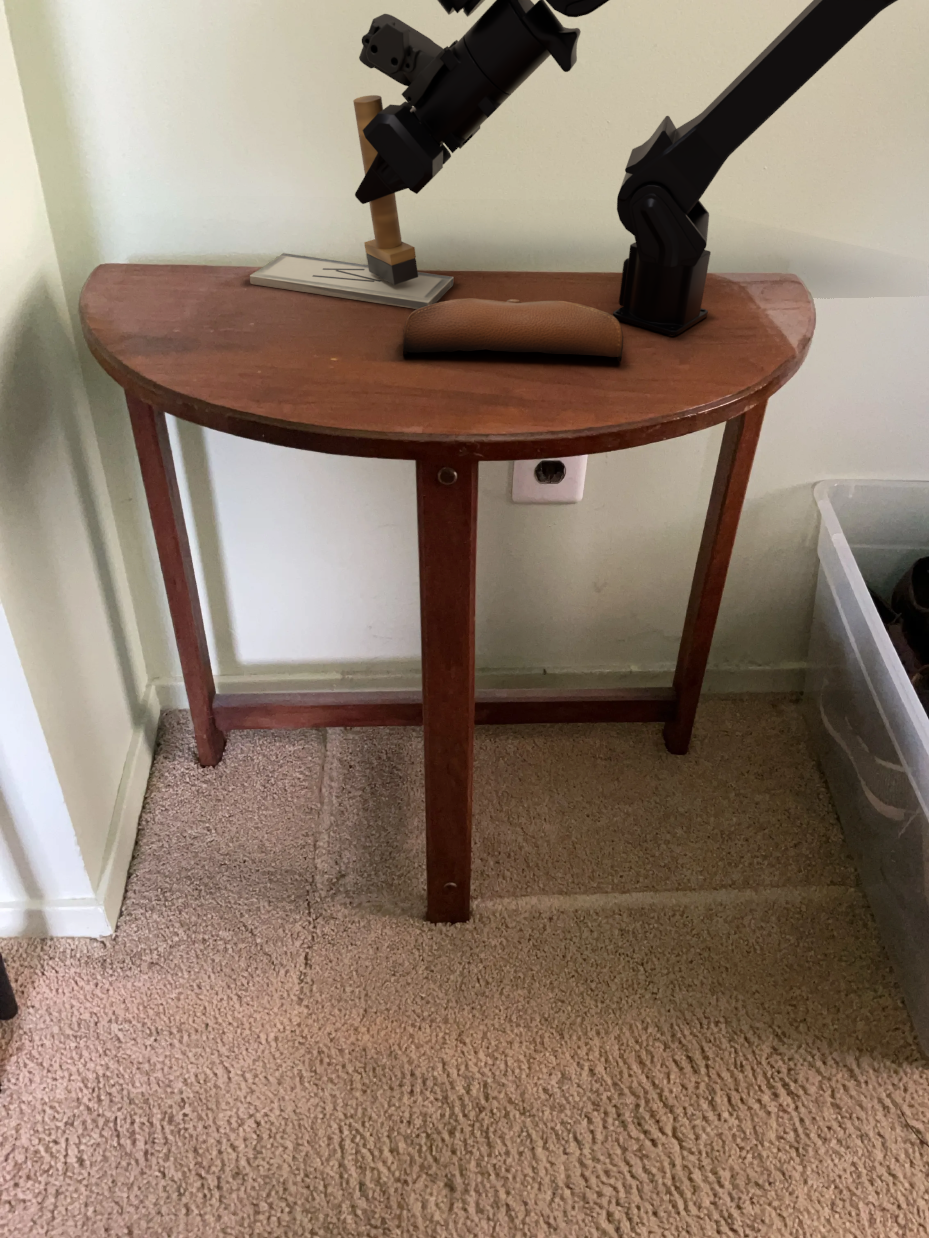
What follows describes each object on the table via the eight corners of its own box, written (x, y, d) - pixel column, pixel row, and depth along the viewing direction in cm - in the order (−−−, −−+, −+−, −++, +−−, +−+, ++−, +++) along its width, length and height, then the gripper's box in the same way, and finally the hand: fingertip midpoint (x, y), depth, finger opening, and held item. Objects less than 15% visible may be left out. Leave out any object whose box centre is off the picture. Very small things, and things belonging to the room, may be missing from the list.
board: (453, 285, 95) (453, 276, 94) (428, 311, 90) (428, 302, 89) (283, 260, 99) (283, 252, 99) (250, 284, 94) (249, 275, 93)
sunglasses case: (613, 322, 87) (624, 271, 81) (614, 391, 84) (627, 343, 78) (408, 316, 87) (404, 264, 81) (404, 384, 85) (399, 336, 78)
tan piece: (418, 277, 92) (395, 99, 82) (394, 285, 91) (367, 106, 81) (392, 264, 95) (366, 91, 86) (368, 272, 94) (340, 98, 85)
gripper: (448, -35, 85) (333, 99, 93) (385, -9, 70) (256, 146, 79) (533, 75, 88) (414, 194, 97) (489, 121, 74) (355, 255, 83)
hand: (363, 195), depth 89 cm, fingers closed on tan piece, 2 cm apart
